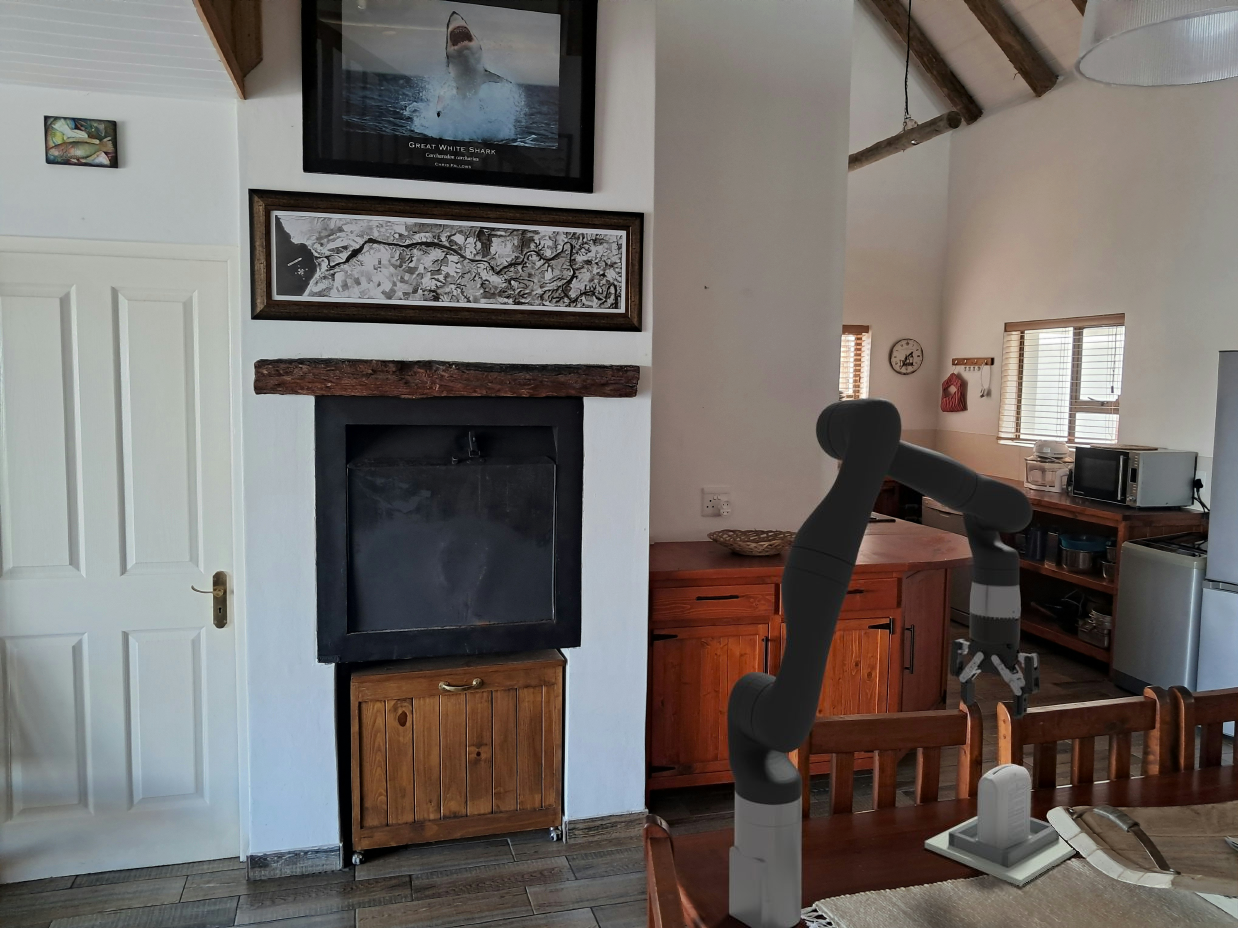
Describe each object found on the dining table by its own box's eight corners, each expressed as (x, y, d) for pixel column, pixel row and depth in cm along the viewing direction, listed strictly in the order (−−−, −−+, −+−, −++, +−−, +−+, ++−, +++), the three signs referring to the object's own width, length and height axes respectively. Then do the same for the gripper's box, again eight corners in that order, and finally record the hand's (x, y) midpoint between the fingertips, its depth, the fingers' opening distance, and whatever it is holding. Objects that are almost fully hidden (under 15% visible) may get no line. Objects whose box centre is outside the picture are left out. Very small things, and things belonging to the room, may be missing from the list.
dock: (1020, 886, 132) (1020, 866, 131) (924, 847, 144) (924, 829, 144) (1083, 847, 144) (1083, 829, 144) (990, 814, 156) (990, 798, 156)
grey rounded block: (1009, 829, 149) (1010, 755, 148) (1034, 838, 145) (1035, 763, 145) (972, 845, 143) (973, 768, 142) (997, 855, 139) (998, 777, 139)
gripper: (941, 606, 147) (940, 704, 147) (1025, 620, 135) (1023, 726, 136) (967, 602, 151) (965, 696, 152) (1050, 615, 140) (1048, 717, 140)
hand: (992, 710), depth 144 cm, fingers open, 8 cm apart
